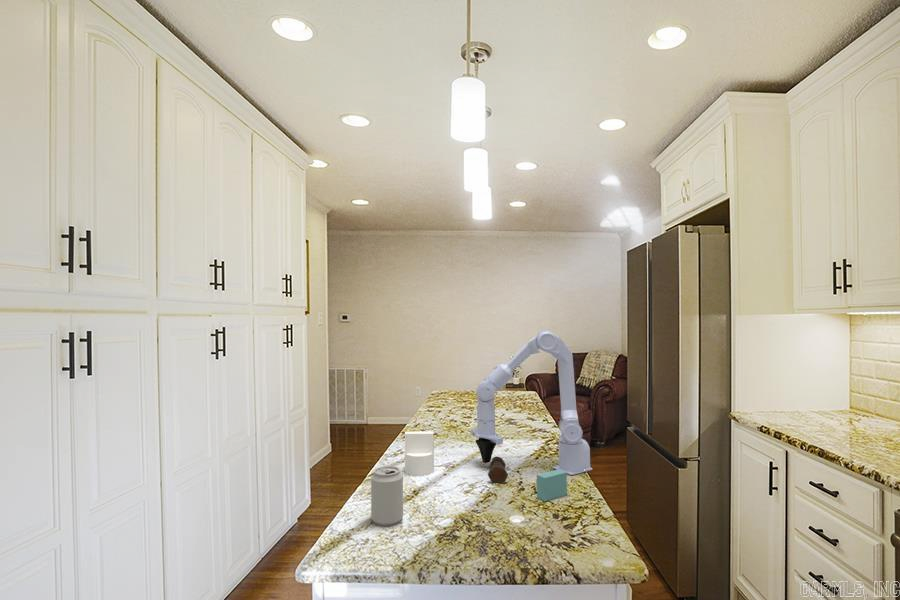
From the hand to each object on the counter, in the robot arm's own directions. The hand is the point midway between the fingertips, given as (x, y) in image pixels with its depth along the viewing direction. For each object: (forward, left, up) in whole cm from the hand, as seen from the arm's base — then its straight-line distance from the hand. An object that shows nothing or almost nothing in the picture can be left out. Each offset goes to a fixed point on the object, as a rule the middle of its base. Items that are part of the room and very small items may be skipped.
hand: (486, 462), depth 149 cm
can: (+43, +18, -2) cm, 47 cm away
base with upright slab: (+20, -8, -2) cm, 22 cm away
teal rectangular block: (0, +27, -1) cm, 28 cm away
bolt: (+2, +8, -2) cm, 8 cm away
